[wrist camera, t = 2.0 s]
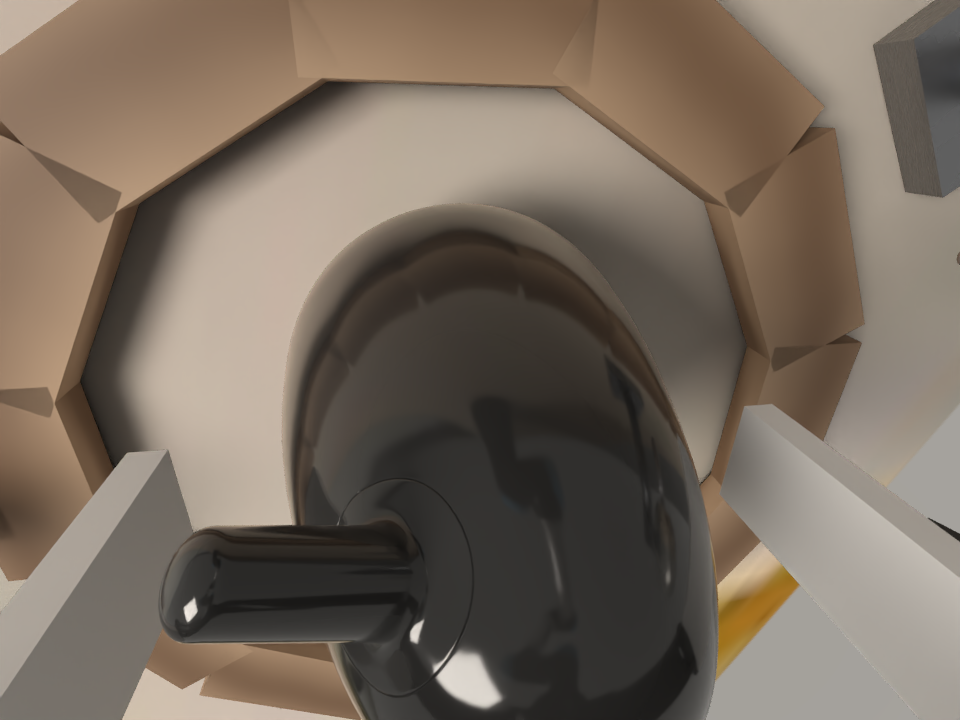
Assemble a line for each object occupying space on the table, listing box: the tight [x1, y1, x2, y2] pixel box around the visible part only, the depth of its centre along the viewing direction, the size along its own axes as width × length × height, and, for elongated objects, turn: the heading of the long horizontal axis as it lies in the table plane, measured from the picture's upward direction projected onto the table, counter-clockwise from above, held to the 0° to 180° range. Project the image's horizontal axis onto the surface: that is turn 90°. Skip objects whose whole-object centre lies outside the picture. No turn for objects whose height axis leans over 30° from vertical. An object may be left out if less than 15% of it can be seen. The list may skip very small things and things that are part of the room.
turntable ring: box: [0, 0, 865, 720], centre depth 17 cm, size 34×38×8 cm
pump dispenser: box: [158, 203, 718, 720], centre depth 12 cm, size 10×10×15 cm
